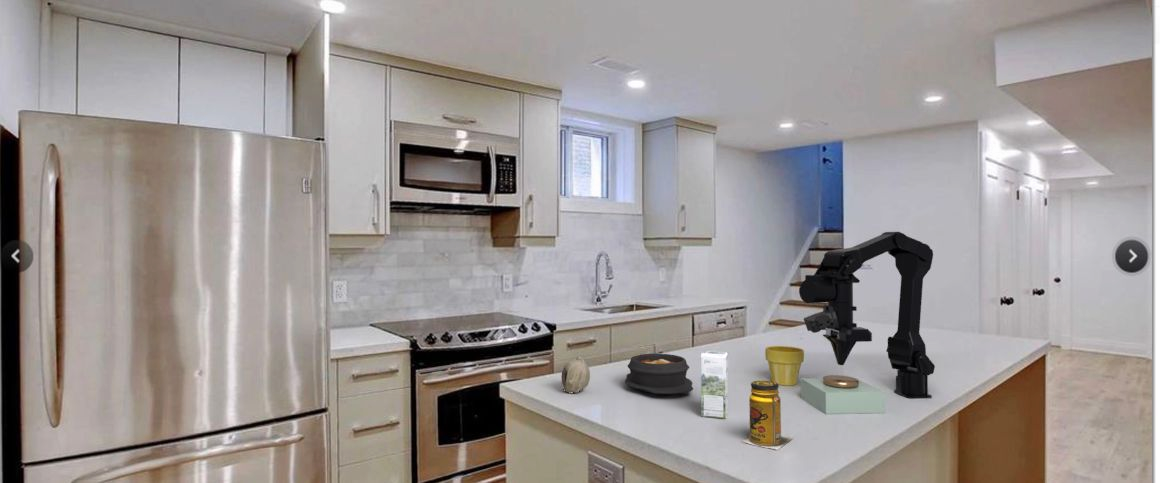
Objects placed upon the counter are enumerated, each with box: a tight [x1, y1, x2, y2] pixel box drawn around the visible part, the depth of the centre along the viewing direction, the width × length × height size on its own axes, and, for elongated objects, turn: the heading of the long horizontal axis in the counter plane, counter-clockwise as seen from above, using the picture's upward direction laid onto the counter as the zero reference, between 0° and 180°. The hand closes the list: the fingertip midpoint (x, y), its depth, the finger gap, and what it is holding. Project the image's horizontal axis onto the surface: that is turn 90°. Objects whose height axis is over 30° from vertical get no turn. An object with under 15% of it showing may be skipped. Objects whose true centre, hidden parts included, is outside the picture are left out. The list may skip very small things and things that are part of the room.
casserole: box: [624, 353, 694, 395], centre depth 160 cm, size 25×19×8 cm
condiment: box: [742, 379, 793, 451], centre depth 118 cm, size 7×8×12 cm
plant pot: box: [765, 345, 805, 386], centre depth 165 cm, size 10×10×10 cm
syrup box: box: [700, 350, 729, 419], centre depth 135 cm, size 6×6×14 cm
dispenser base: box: [800, 377, 886, 415], centre depth 143 cm, size 14×14×5 cm
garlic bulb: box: [561, 356, 591, 394], centre depth 158 cm, size 9×8×10 cm
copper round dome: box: [822, 374, 860, 388], centre depth 143 cm, size 8×8×5 cm
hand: (840, 364), depth 143 cm, fingers closed
